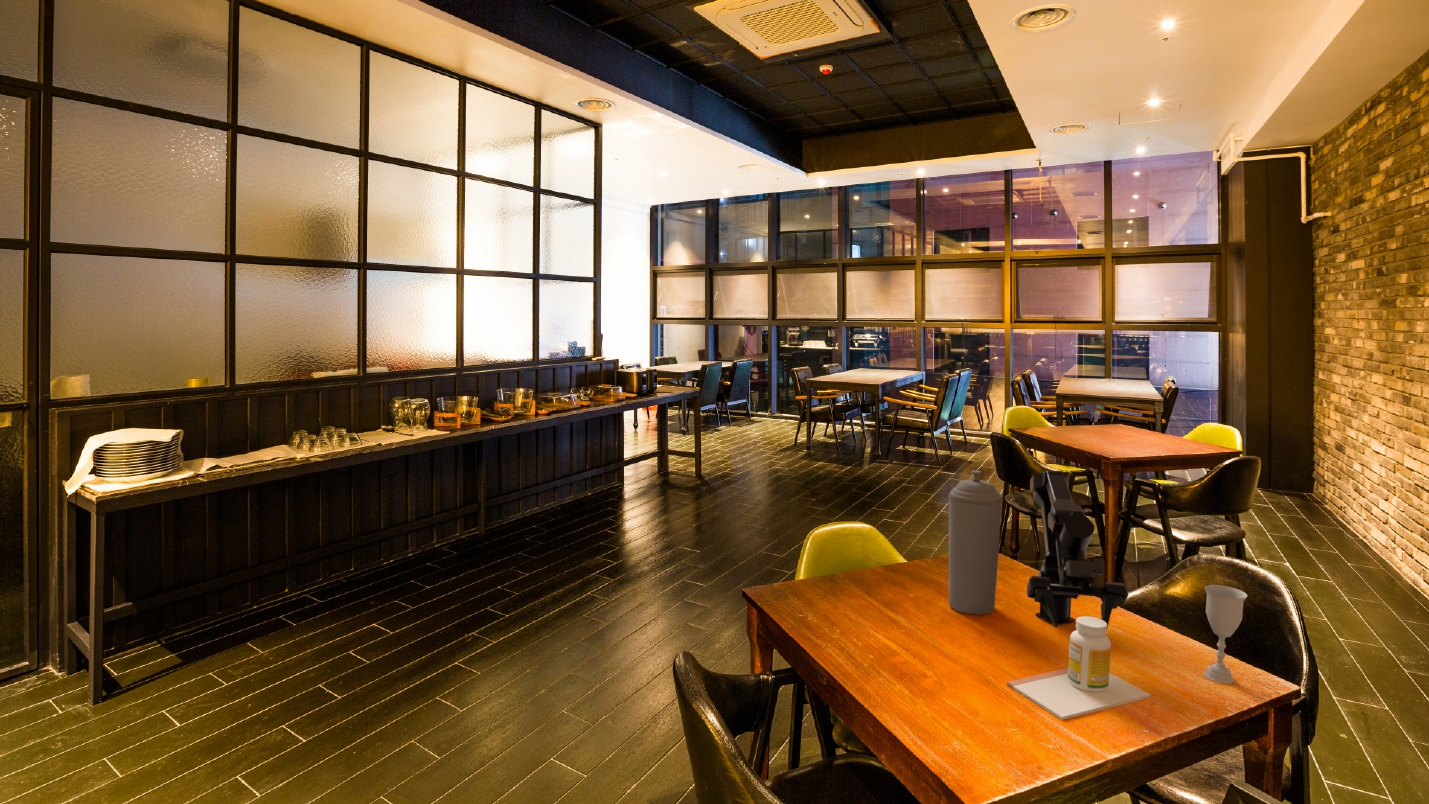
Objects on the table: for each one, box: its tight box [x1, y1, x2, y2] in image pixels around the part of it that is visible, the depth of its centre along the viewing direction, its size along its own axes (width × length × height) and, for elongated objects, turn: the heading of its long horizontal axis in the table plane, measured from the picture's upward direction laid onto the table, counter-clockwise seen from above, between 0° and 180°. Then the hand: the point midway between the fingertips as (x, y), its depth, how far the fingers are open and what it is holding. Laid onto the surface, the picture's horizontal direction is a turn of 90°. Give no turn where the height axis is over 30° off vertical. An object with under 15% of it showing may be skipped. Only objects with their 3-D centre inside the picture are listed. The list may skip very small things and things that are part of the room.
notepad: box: [1006, 667, 1151, 721], centre depth 140 cm, size 22×14×1 cm, turn 110°
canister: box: [948, 470, 1004, 616], centre depth 180 cm, size 13×13×35 cm
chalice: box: [1203, 584, 1248, 685], centre depth 144 cm, size 7×7×18 cm
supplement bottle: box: [1067, 615, 1112, 692], centre depth 141 cm, size 7×7×13 cm
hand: (1080, 629), depth 148 cm, fingers open, 9 cm apart
